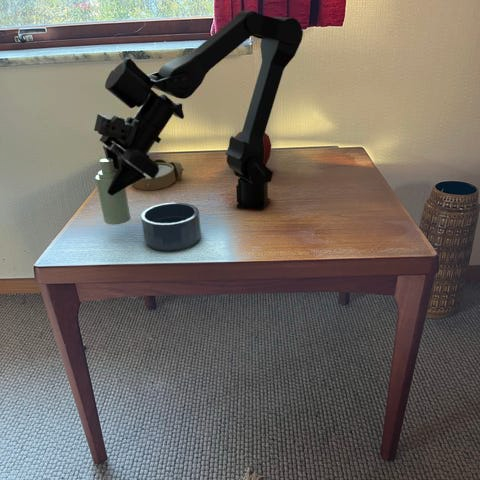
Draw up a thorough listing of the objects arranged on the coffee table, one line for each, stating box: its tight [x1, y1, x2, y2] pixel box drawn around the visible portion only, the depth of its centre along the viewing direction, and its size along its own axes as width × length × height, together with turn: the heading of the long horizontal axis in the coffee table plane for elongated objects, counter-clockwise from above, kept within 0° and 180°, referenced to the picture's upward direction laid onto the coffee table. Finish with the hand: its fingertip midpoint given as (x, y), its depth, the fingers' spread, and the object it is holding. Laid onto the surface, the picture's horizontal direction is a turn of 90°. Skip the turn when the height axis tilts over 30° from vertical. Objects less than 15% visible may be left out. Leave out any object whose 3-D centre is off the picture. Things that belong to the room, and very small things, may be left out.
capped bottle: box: [94, 157, 131, 226], centre depth 103 cm, size 5×5×12 cm
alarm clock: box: [133, 158, 185, 191], centre depth 137 cm, size 11×5×15 cm
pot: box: [140, 202, 202, 252], centre depth 105 cm, size 12×12×6 cm
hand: (105, 190), depth 102 cm, fingers closed on capped bottle, 5 cm apart
